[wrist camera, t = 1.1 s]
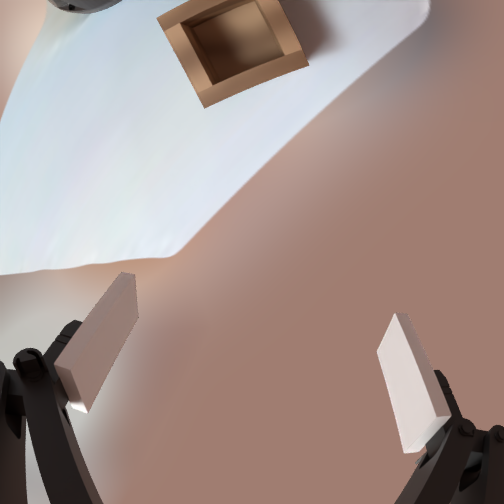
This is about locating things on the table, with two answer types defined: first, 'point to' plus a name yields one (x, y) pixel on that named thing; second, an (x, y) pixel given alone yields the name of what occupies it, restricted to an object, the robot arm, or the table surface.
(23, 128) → the table surface
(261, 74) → the walnut socket block
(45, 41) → the table surface
